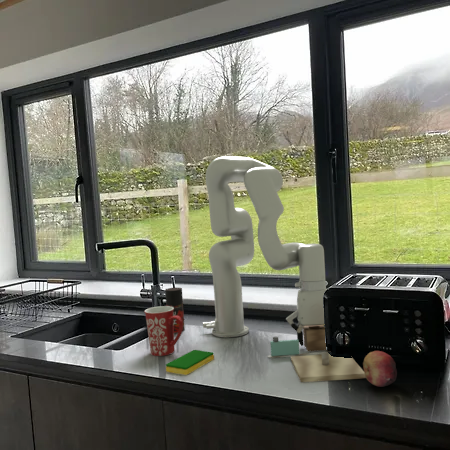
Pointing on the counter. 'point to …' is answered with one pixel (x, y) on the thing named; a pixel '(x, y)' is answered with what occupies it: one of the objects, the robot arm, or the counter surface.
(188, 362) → the dish sponge
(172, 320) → the mug
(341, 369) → the seat
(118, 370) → the counter surface
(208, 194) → the robot arm
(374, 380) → the fruit
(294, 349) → the bar
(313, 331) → the block
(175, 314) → the deodorant
